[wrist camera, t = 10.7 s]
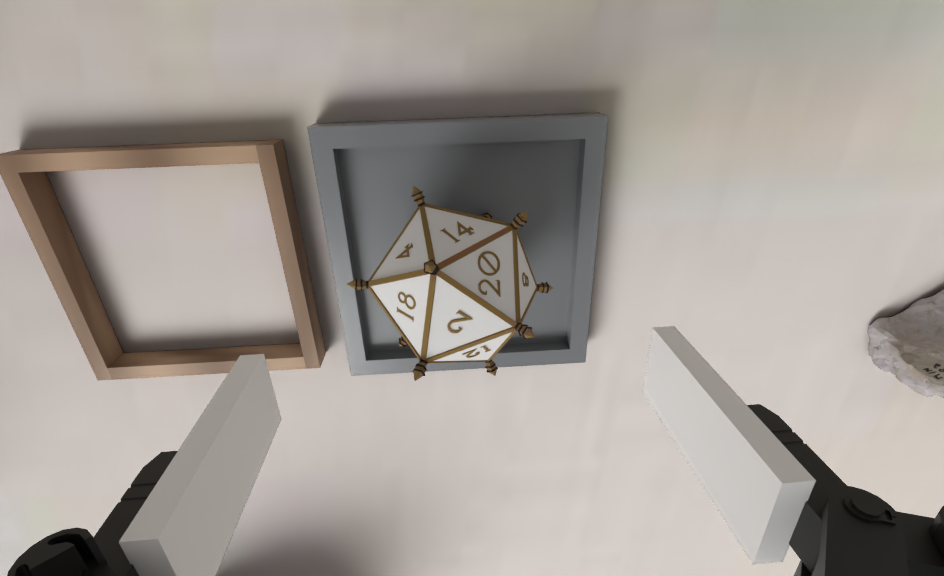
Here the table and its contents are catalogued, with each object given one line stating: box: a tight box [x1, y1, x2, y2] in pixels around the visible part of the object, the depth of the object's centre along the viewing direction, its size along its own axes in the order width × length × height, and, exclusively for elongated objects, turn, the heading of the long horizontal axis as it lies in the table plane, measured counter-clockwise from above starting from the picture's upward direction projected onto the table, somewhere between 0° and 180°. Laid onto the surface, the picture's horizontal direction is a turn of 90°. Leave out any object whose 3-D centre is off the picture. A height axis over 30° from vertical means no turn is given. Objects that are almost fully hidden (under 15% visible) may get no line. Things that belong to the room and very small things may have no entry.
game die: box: [347, 186, 553, 381], centre depth 22 cm, size 9×8×10 cm
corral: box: [0, 140, 326, 380], centre depth 25 cm, size 13×13×2 cm
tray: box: [307, 113, 608, 376], centre depth 25 cm, size 14×14×2 cm
